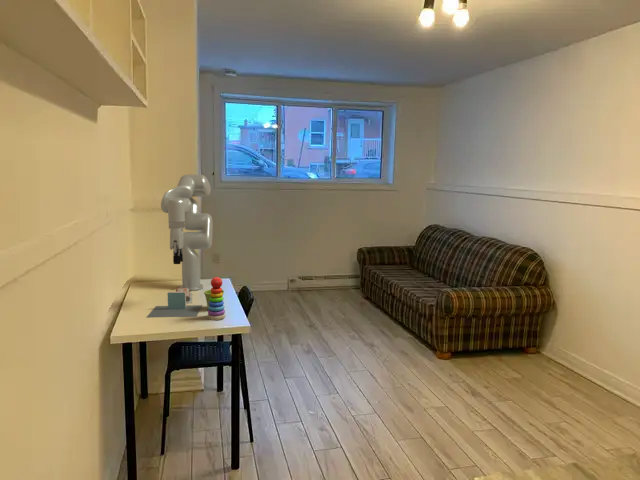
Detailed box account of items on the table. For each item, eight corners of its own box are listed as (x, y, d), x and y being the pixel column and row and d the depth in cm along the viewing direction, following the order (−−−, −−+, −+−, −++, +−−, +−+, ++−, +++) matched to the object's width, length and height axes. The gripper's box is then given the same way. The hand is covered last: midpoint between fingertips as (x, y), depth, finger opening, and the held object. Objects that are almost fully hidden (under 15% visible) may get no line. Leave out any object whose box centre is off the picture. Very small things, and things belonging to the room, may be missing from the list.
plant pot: (203, 307, 230) (202, 290, 229) (222, 305, 234) (222, 288, 232) (205, 313, 222) (205, 294, 220) (226, 311, 225) (225, 293, 224)
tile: (169, 308, 228) (168, 291, 227) (186, 307, 229) (185, 291, 228) (168, 309, 226) (167, 292, 225) (185, 309, 227) (184, 292, 226)
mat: (155, 306, 231) (155, 306, 231) (202, 305, 233) (202, 305, 233) (146, 318, 214) (146, 317, 213) (196, 317, 216) (196, 316, 216)
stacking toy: (208, 321, 209) (207, 279, 207) (205, 316, 217) (204, 275, 214) (227, 319, 212) (226, 278, 210) (223, 314, 220) (222, 274, 217)
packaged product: (172, 287, 251) (192, 286, 253) (172, 296, 251) (192, 295, 254) (171, 296, 234) (192, 295, 236) (171, 306, 234) (192, 304, 237)
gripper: (172, 223, 236) (173, 259, 238) (164, 227, 219) (166, 266, 221) (188, 223, 236) (189, 259, 239) (181, 227, 219) (182, 266, 222)
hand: (178, 262), depth 230 cm, fingers open, 4 cm apart
